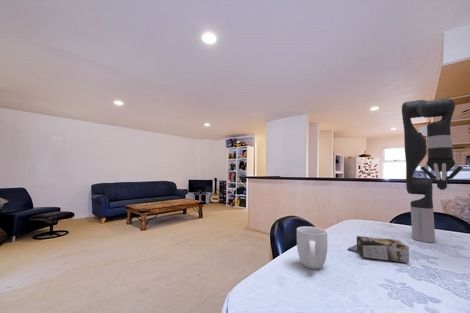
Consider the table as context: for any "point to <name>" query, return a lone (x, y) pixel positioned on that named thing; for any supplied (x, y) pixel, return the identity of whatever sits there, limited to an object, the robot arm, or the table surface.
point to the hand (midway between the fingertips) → (442, 189)
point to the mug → (312, 246)
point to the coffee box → (382, 249)
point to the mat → (354, 249)
